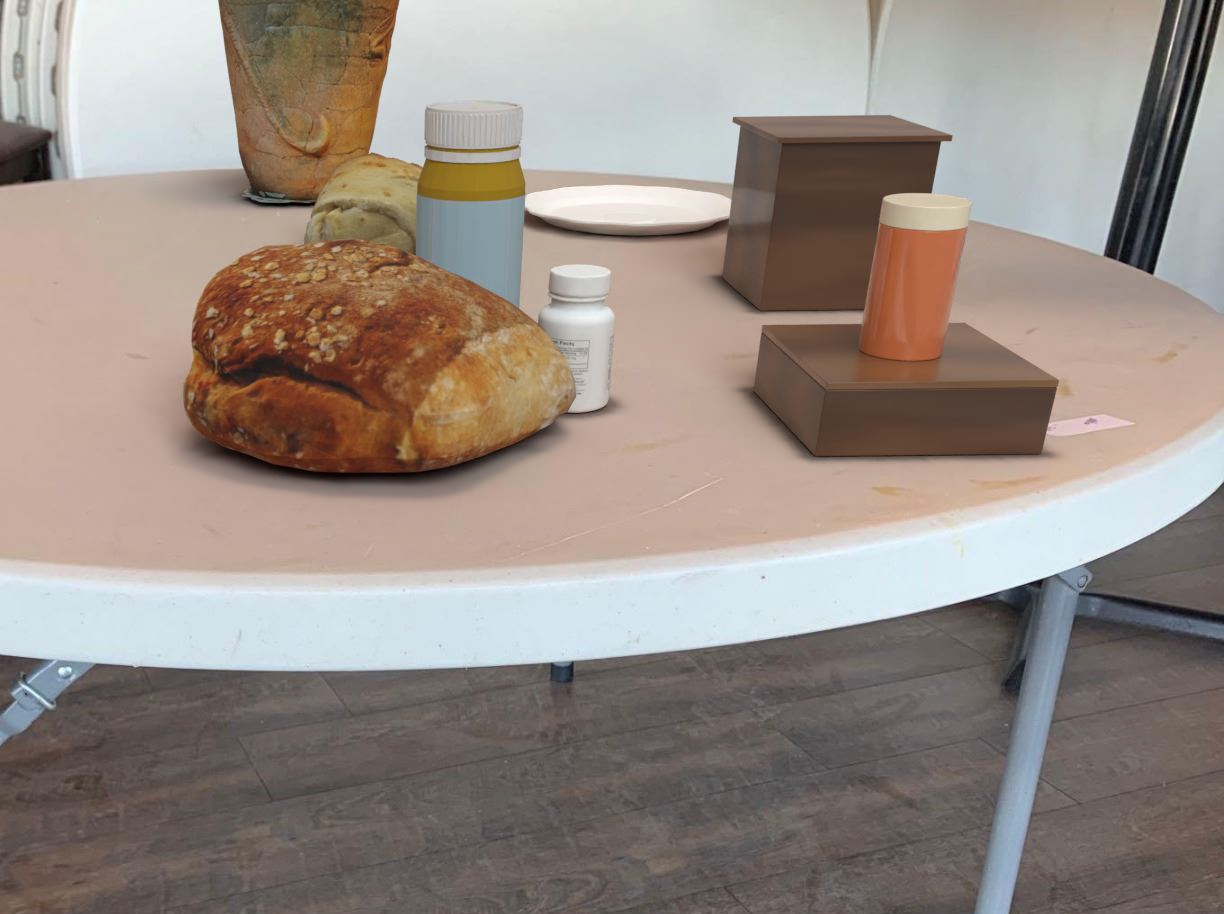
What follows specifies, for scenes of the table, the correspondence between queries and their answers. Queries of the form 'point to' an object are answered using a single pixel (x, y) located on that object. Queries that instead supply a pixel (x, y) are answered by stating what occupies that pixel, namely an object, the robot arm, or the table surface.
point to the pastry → (368, 203)
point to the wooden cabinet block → (818, 204)
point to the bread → (366, 362)
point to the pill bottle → (582, 329)
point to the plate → (628, 209)
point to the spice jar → (913, 275)
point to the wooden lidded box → (902, 394)
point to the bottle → (473, 193)
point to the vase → (304, 87)
